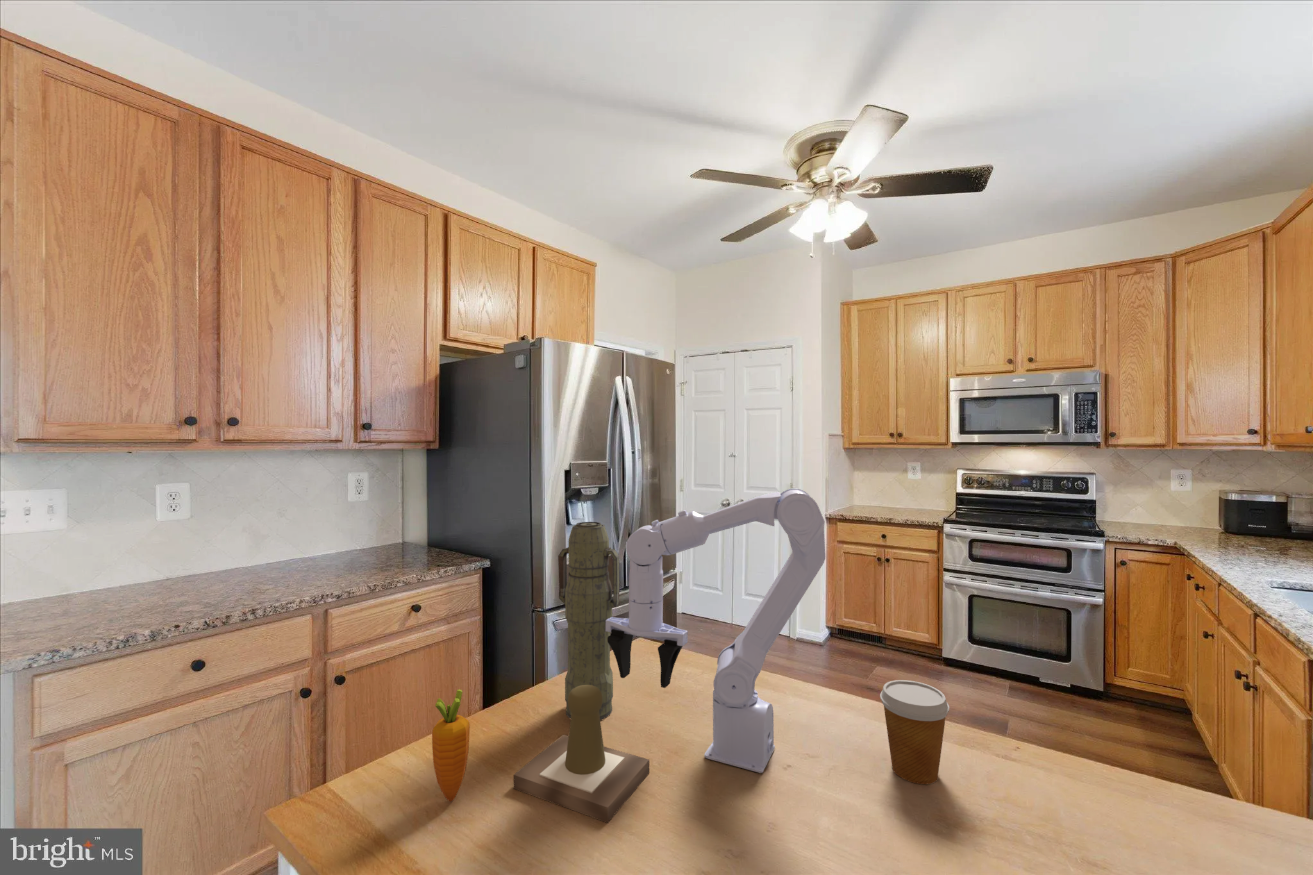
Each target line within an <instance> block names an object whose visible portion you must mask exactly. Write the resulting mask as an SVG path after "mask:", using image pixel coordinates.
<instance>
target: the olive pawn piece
mask: <svg viewBox="0 0 1313 875" xmlns="http://www.w3.org/2000/svg"><path fill="white" fill-rule="evenodd" d="M601 706H602V693H601V691H600V690H599V688H597V687H595V686H592V685H581V686H578V687H576V688H574V689H572V690H571V692H570V693H569V696H568V707H569V710H570V712H571V719H570V722H569V730H568V736H569V737H568V745H567V753H566V761H565V767H566V769H567V770H568V771H569V772H572V773H574V774H580V775H585V774H591V773H594V772H597V771H599V770H600V769H601V768H602V767H603V766H604V765H605V753H604V747H605V746H604V738H603V731H602V724H601V720H600V715H599V710H600V708H601Z"/></svg>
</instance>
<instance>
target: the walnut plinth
mask: <svg viewBox="0 0 1313 875" xmlns="http://www.w3.org/2000/svg"><path fill="white" fill-rule="evenodd" d="M568 737H569V735H566V734H562V735H561V736H560V737H558V738H557V739H556V740H555V741H554V742H552V743H551V744H549V745H548V747H546V748H545V749H544V750H542V751H541V752H540V753H539V754H537V755H536V756H535V757H533V758H532V759H530V761H529V762H527V763H526V764H525V765H524V766H523V767H522V768H520V769H519V770H517V771H516V772H515V773H514V774H513V789H514V790H515V791H520V792H522V793H524V794H528V795H530V796H533V797H536V798H539V799H540V800H544V801H547V802H550V803H551V804H555V805H558V806H560V807H563V808H565V809H568V810H571V811H575V812H577V813H580V814H582V815H585V816H587V817H590V818H594V819H596V820H599V821H601V822H605V823H607V824H608V823H609V822H610V821H611V820H612V818H614V817H615V815H616V814H617V812H618V811H619V810H620V809H621V808H622V807H623V806H624V804H625V803H626V802H627V800H628V799H629V798H630V797H631V796H632V794H634V792H635V791H636V790H637V788H639V786H640V785H641V784H642V783H643V781H644V780H645V779H646V778H647V777H648V776H649V774H650V758H649V759H648V758H645V757H641V756H638V755H636V754H635V755H634V754H632V753H628V752H625V751H621V750H617V749H614V748H610V747H608V746H604V753H605V765H604V766H603V767H602V768H601V769H600V770H599V771H597V772H594V773H591V774H585V775H580V774H574V773H572V772H569V771H568V770H567V769H566V767H565V761H566V753H567V745H568Z"/></svg>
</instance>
